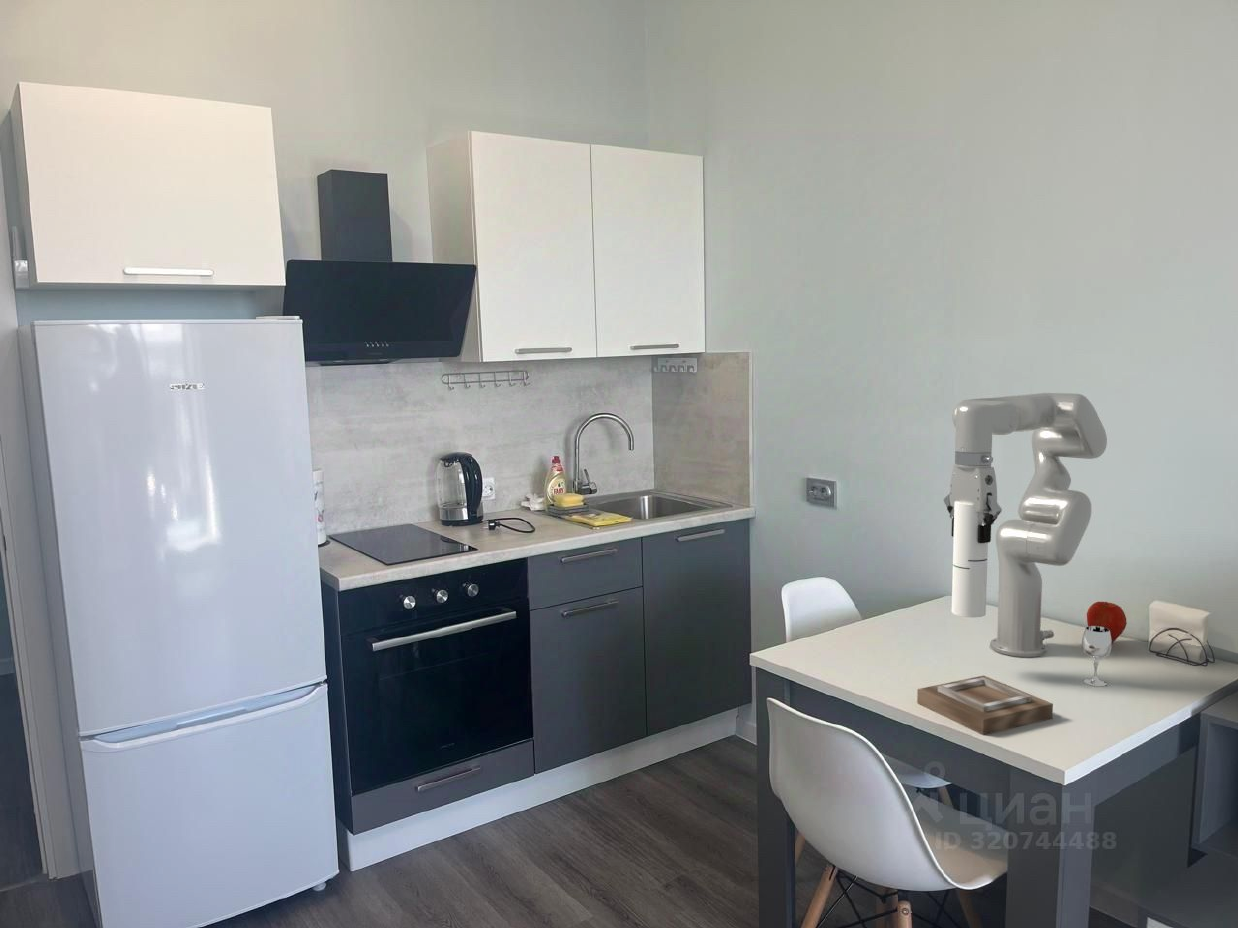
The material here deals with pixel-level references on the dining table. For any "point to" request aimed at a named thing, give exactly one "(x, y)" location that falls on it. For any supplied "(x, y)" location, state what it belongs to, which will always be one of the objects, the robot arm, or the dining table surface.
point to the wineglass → (1096, 648)
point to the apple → (1107, 618)
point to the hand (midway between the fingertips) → (970, 538)
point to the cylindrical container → (968, 563)
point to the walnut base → (984, 704)
